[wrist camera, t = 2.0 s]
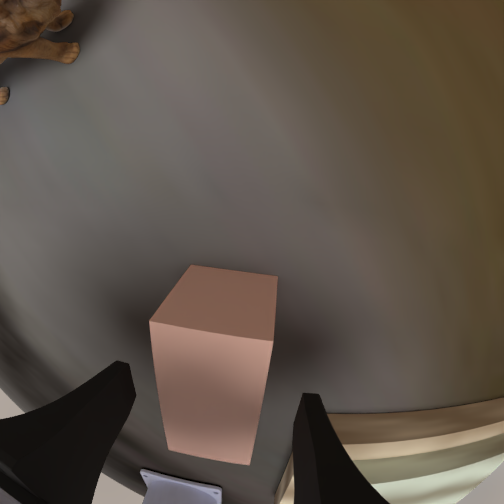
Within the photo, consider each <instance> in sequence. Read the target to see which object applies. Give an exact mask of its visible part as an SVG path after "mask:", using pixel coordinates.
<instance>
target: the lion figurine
mask: <svg viewBox="0 0 504 504" xmlns="http://www.w3.org/2000/svg"><path fill="white" fill-rule="evenodd" d="M60 6H61V0H0V64H1V63H2V62H3V61H4V60H5V59H7V58H8V57H10V58H20V57H21V58H40V59H50V60H55V61H59V62H62V63H65V64H70V63H72V62H74V61H75V59H76V58H77V57H78V54H79V52H80V48H79V44H78V43H67V42H60V43H54V42H51V41H49V40H47V39H44V38H42V37H40V34H41V33H43V31H44V30H45V29H47V30H49V31H52V32H58V31H60V30H62V29H64V28H66V27H67V26H68V25H69V24H70V23H71V22H72V19H73V17H74V15H73V13H72V12H71V11H70V10H64V11H62V12H61V9H60ZM8 92H9V89H8V88H7V87H2V88H0V105H3V104H5V103H6V101H7V100H8Z"/></svg>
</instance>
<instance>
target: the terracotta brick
mask: <svg viewBox="0 0 504 504" xmlns="http://www.w3.org/2000/svg"><path fill="white" fill-rule="evenodd" d="M277 281H278V276H272V275H264V274H257V273H249V272H241V271H234V270H227V269H219V268H212V267H205V266H197V265H190V266H189V268H188V269H187V270H186V272H185V273H184V274H183V276H182V277H181V278H180V280H179V281H178V282H177V284H176V285H175V286H174V288H173V289H172V290H171V292H170V293H169V294H168V296H167V297H166V298H165V300H164V301H163V302H162V304H161V305H160V307H159V308H158V309H157V311H156V312H155V313H154V315H153V316H152V317H151V319H150V320H149V324H150V335H151V344H152V353H153V361H154V369H155V376H156V383H157V389H158V396H159V402H160V408H161V413H162V419H163V424H164V430H165V435H166V439H167V444H168V449H169V450H172V451H176V452H180V453H184V454H188V455H193V456H197V457H202V458H207V459H212V460H218V461H224V462H230V463H237V464H244V465H250V461H251V456H252V451H253V447H254V442H255V437H256V432H257V427H258V422H259V417H260V412H261V407H262V402H263V396H264V391H265V386H266V381H267V375H268V370H269V364H270V358H271V353H272V347H273V341H274V327H275V313H276V297H277Z"/></svg>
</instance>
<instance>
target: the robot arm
mask: <svg viewBox="0 0 504 504" xmlns="http://www.w3.org/2000/svg"><path fill="white" fill-rule="evenodd" d="M135 398H136V392H135V388H134V384H133V379H132V375H131V370H130V366H129V364H128V363H124V362H121V361H115V362H114V363H112V364H111V365H110V366H108V367H107V368H105V369H104V370H103V371H101V372H100V373H98V374H97V375H96V376H94V377H93V378H91V379H90V380H88V381H87V382H85V383H84V384H83V385H81V386H80V387H78V388H76V389H75V390H73V391H72V392H70V393H68V394H67V395H65V396H63V397H62V398H60V399H58V400H56V401H54V402H52V403H50V404H48V405H46V406H43V407H41V408H38V409H36V410H33V411H30V412H27V413H25V414H21V415H18V416H14V417H10V418H5V419H0V504H92V500H93V496H94V492H95V488H96V485H97V482H98V479H99V476H100V473H101V470H102V468H103V465H104V462H105V460H106V457H107V455H108V453H109V451H110V449H111V447H112V445H113V443H114V442H115V440H116V438H117V436H118V434H119V432H120V431H121V429H122V427H123V425H124V423H125V421H126V420H127V418H128V416H129V414H130V411H131V409H132V406H133V403H134V401H135ZM292 448H293V469H294V504H390V503H389V502H388V501H387V500H386V499H385V498H383V497H382V496H381V495H380V493H379V492H378V491H377V490H376V489H375V488H374V487H373V486H372V485H371V484H370V483H369V482H368V481H367V479H366V478H365V477H364V476H363V474H362V473H361V472H360V471H359V469H358V468H357V467H356V465H355V464H354V462H353V461H352V459H351V458H350V456H349V455H348V453H347V452H346V450H345V448H344V447H343V445H342V443H341V441H340V440H339V438H338V436H337V434H336V432H335V430H334V428H333V426H332V424H331V422H330V420H329V417H328V415H327V413H326V411H325V408H324V406H323V403H322V400H321V398H320V395H319V394H313V393H303V394H302V398H301V401H300V404H299V408H298V411H297V414H296V417H295V421H294V427H293V442H292ZM140 473H141V475H142V477H143V479H144V481H145V483H146V485H147V487H148V490H147V492H146V495H145V497H144V500H143V503H142V504H222V489H221V488H220V487H217V486H212V485H206V484H201V483H196V482H192V481H187V480H183V479H179V478H175V477H171V476H167V475H163V474H160V473H156V472H153V471H149V470H146V469H141V471H140Z"/></svg>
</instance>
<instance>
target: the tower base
mask: <svg viewBox="0 0 504 504" xmlns="http://www.w3.org/2000/svg"><path fill="white" fill-rule="evenodd" d="M327 415H328V417H329V420H330V422H331V424H332V426H333V428H334V430H335V432H336V434H337V436H338V438H339V440H340V441H341V443H342V445H343V447H344V448H345V450H346V452H347V453H348V455H349V456H350V458H351V459H352V461H353V462H354V464H355V465H356V467H357V468H358V469H359V471H360V472H361V473H362V474H363V476H364V477H365V478H366V479H367V481H368V482H369V483H370V484H371V485H372V486H373V487H374V488H375V489H376V490H377V491H378V492H379V493H380V495H381V496H382V497H383V498H385V499H386V500H387V501H388V502H389V503H390V504H456V503H457V502H458V501H460V500H461V499H462V498H463V497H465V496H466V495H467V494H468V493H470V492H471V491H472V490H473V489H474V488H476V487H477V486H478V485H479V484H480V483H481V482H482V481H483V480H484V479H486V478H487V477H488V476H489V475H490V474H491V473H492V472H493V471H494V470H495V469H496V468H497V467H498V466H499V465H500V464H501V463H502V462H503V461H504V397H503V398H498V399H494V400H489V401H484V402H479V403H473V404H468V405H462V406H455V407H448V408H441V409H432V410H423V411H412V412H398V413H378V414H327ZM274 504H294V469H293V451H292V454H291V457H290V459H289V462H288V464H287V467H286V469H285V472H284V474H283V477H282V479H281V482H280V484H279V486H278V489H277V491H276V494H275V499H274Z"/></svg>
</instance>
